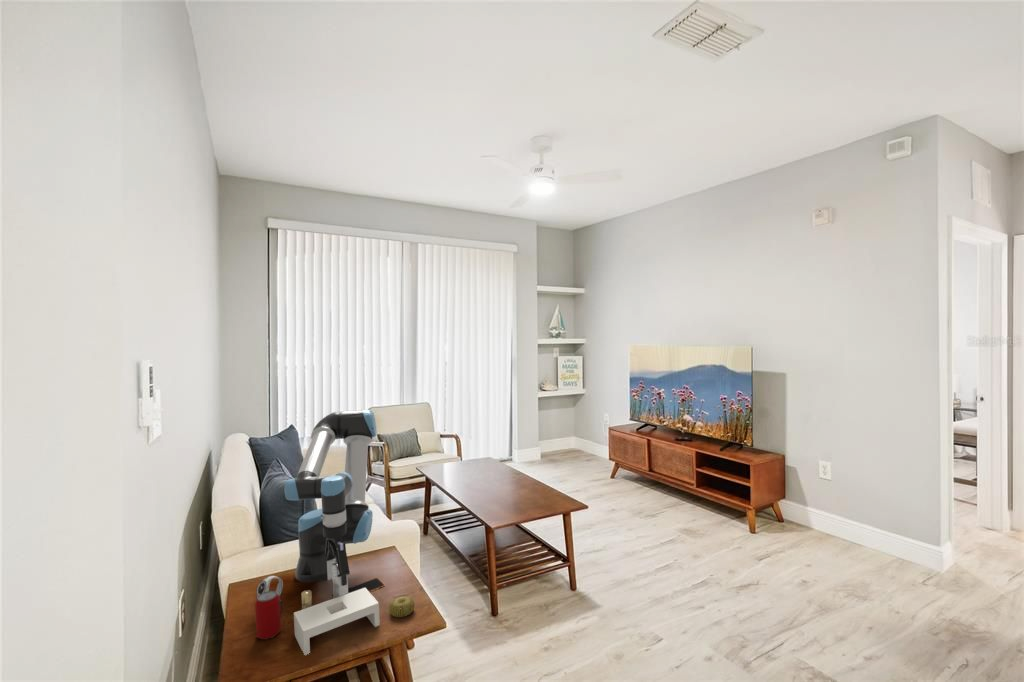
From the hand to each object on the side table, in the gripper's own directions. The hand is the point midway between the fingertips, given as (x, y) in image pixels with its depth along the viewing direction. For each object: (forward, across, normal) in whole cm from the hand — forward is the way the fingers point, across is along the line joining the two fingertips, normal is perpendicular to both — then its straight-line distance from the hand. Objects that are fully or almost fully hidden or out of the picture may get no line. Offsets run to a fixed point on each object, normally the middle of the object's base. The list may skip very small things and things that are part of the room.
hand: (337, 586), depth 163 cm
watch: (+6, -10, -19) cm, 22 cm away
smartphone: (+6, -3, +8) cm, 11 cm away
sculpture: (+6, +20, +14) cm, 25 cm away
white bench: (+6, +16, -5) cm, 18 cm away
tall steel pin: (+6, 0, 0) cm, 6 cm away
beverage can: (+6, +4, -22) cm, 23 cm away
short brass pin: (+6, 0, -10) cm, 11 cm away
